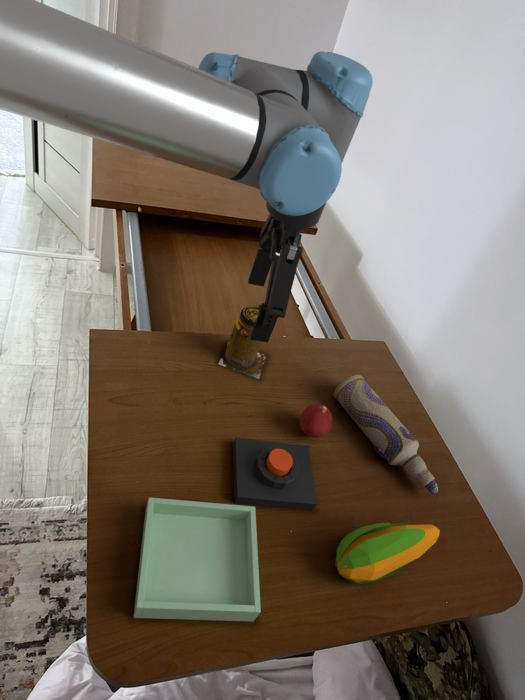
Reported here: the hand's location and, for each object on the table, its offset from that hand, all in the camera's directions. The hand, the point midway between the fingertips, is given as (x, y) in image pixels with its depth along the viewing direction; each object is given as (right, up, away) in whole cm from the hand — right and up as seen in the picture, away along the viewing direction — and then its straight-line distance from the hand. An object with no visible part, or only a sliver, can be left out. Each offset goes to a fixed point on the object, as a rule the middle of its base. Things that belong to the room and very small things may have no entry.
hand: (257, 310), depth 80 cm
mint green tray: (-8, -36, -10) cm, 38 cm away
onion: (+9, -22, +13) cm, 27 cm away
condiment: (-3, -9, +21) cm, 23 cm away
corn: (+19, -39, -1) cm, 43 cm away
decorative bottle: (+22, -24, +16) cm, 36 cm away
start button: (+3, -25, +1) cm, 25 cm away
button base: (+2, -27, +4) cm, 28 cm away
